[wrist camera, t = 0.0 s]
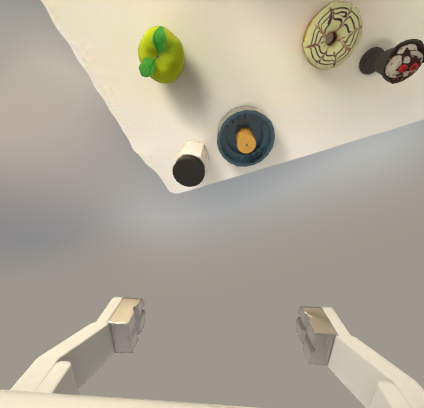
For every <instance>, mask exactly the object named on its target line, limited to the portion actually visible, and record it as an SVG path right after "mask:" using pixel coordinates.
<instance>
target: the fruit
mask: <svg viewBox="0 0 424 408" xmlns="http://www.w3.org/2000/svg"><path fill="white" fill-rule="evenodd" d="M138 55H139V59H140V62H141V64H140V66H139V70H140V73H141V75H142V76H144V77H149V76H150V77H151V78H152V79H154V80H155V81H157V82H160V83H164V84H167V83H171V82H173V81H174V80H175V79H176V78H177V77H178V76H179V74H180V73H181V71H182V69H183V66H184V51H183V47H182V44H181V43H180V41H179V40H178V39H177V38H176V37H175V36H174V35H173V34H172V33H171V32H170V31H169V30H168V29H166V28H164V27H162V26H156V27H152V28H150V29H148V30H147V31H146V33H145V34H144V36H143V38H142V40H141V42H140V44H139V48H138Z"/></svg>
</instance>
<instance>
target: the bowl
mask: <svg viewBox="0 0 424 408" xmlns="http://www.w3.org/2000/svg"><path fill="white" fill-rule="evenodd" d="M244 126H246V127H249V128H250V129H251V130H252V132H253V135H254V138H255V140H256V147H255V149H254V150H253V151H252V152H250V153H242V152H240V151H239V149H238V147H237V140H236V132H237V130H238V129H239V128H241V127H244ZM274 140H275V133H274V128H273V125H272V123H271V121H270V120H269V118H268V117H267V116H266V115H265V114H264V113H263V112H262V111H261V110H259V109H257V108H255V107H251V106H242V107H238V108H235V109H233V110H232V111H230V112H229V113H227V115H226V116H225V117H224V118H223V119H222V121H221V123H220V126H219V128H218V139H217V144H218V148H219V151H220V153H221V155H222V156H223V158H224V159H226V160H227V161H228V162H229V163H231V164H234V165H236V166H245V167H246V166H251V165H254V164H256V163H258V162H260V161H262V160H263V159H264V158H265V157H266V156H267V155H268V154H269V152H270V151H271V149H272V147H273V144H274Z"/></svg>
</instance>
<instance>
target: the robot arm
mask: <svg viewBox="0 0 424 408" xmlns="http://www.w3.org/2000/svg"><path fill="white" fill-rule="evenodd" d="M143 306H144V300H143V299H138V298H125V297H124V298H122V297H115V298H113V299H112V300H111V302H110V303H109V304H108V306H107V307H106V309H105V310H104V311H103V313H102V314H101V316H100V317H99V318H98V320H97V321H96V323H91V324H90V325H88V326H87V327H85V328H83V329H82V330H81V331H79V332H77V333H76V334H74V335H73V336H71V337H69V338H68V339H66V340H65V341H63V342H62V343H60V344H58V345H57V346H55V347H54V348H52V349H51V350H49V351H48V352H46V353H45V354H43V355H41V356H40V357H38V358H37V359H36V360H35V361H34V362H33V364H32V365H31V366H30V367H29V368H28V369H27V371H26V372H25V373H24V374H23V375H22V376H21V378H20V379H19V380H18V381H17V382H16V383H15V385H14V386H13V387H12V388H11V389H10V390H0V408H258V407H243V406H228V405H215V404H201V403H186V402H172V401H158V400H143V399H129V398H115V397H101V396H85V395H80V394H79V391H78V389H79V388H80V387H81V386H82V385H83V384H84V383H85V382H86V381H87V380H89V378H91V377H92V376H93V375H94V374H95V373H96V372H97V371H98V370H99V369H100V368H101V367H102V366H103V365H104V364H105V363H106V362H107V361H108V360H109V359H110V358H111V357H112V356H113V355H114V354H115V353H133V350H134V348H135V346H136V344H137V341H138V336H137V335H138V334H139V333H140V332H141V331H142V329H143V327H144V323H145V311H144V310H143ZM298 313H299V315H300V317H299V318H298V319H297V322H296V329H297V334H298V337H299V340H300V341H301V342H302V343H303V344H304V347H303V350H304V353H305V355H306V358H307V360H308V363H309V364H317V365H328V367H329V368H330V370H331V371H332V372H333V373H334V374H335V375H336V376H337V377H338V378H339V379H340V380H341V381H342V383H343V384H344V385H345V386H346V387H347V388H348V389H349V390H350V391H351V392H352V393H353V394H354V395H355V397H357V399H358V400H359V401H360V402H361V403H362V404H363V405H364V406H365V407H366V408H424V390H423V389H422V387H421V386H420V385H419V384H418V382H416V381H415V380H414V379H412V378H411V377H409V376H408V375H407V374H405V373H404V372H402V371H401V370H400V369H399V368H397V367H396V366H394V365H393V364H391V363H390V362H389V361H387V360H386V359H385V358H383V357H382V356H381V355H379V354H378V353H376V352H375V351H373V350H372V349H371V348H369V347H368V346H366V345H365V344H364V343H362V342H361V341H360V340H358V339H357V338H356V337H353V336H351V335H350V334H349V332H348V331H347V330H346V328H345V326H344V325H343V323H342V322H341V321H340V319H339V318H338V316H337V315H336V313H335V312H334V310H333V309H332V308H331V307H309V306H300V307H299V310H298Z"/></svg>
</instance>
